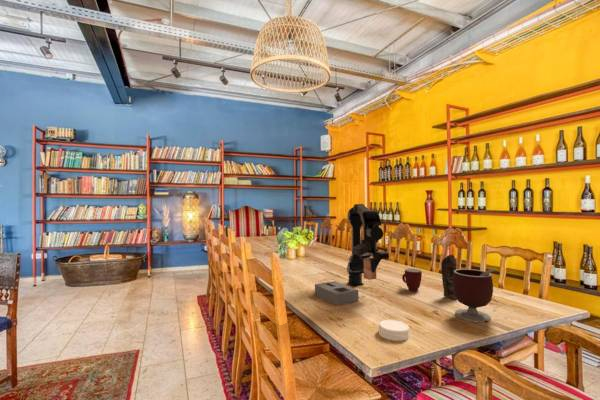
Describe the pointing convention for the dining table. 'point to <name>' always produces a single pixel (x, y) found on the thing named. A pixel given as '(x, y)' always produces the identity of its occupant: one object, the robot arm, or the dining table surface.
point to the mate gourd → (473, 292)
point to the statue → (448, 275)
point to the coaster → (394, 330)
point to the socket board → (336, 293)
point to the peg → (368, 270)
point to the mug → (412, 278)
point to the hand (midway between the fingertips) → (370, 271)
